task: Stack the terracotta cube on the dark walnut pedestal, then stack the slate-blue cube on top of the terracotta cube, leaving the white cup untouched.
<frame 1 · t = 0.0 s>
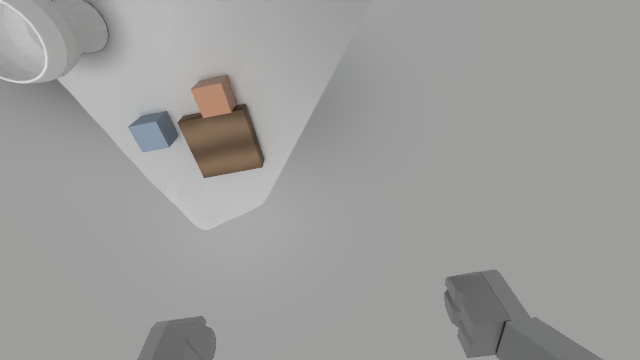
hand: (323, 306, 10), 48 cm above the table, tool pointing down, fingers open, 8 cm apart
pedestal: (225, 139, 58), on the table
terracotta block: (218, 91, 53), on the table
cup: (82, 25, 47), on the table
blue block: (160, 126, 56), on the table
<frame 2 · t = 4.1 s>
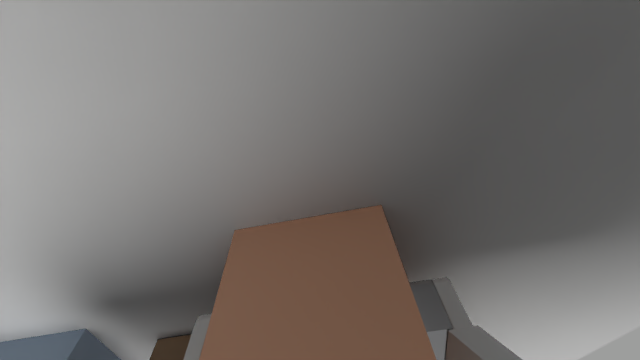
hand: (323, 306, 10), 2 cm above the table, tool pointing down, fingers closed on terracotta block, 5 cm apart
terracotta block: (320, 265, 11), on the table, touching gripper
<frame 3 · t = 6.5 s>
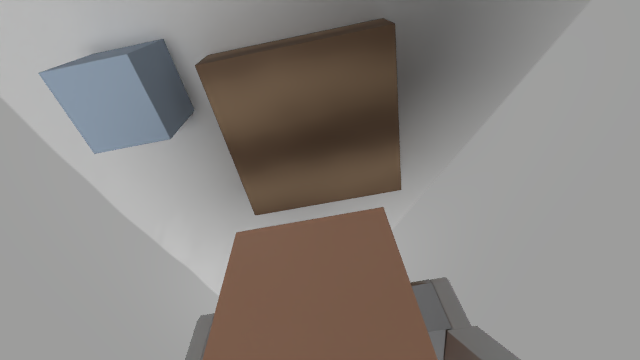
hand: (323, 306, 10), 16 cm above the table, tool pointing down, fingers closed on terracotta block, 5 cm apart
pedestal: (311, 119, 23), on the table
terracotta block: (321, 268, 11), point 14 cm above the table, touching gripper
blue block: (146, 83, 21), on the table
when the fingers open (6 cm above the table, at t = 8.7 s): terracotta block stays where it is, resting on pedestal.
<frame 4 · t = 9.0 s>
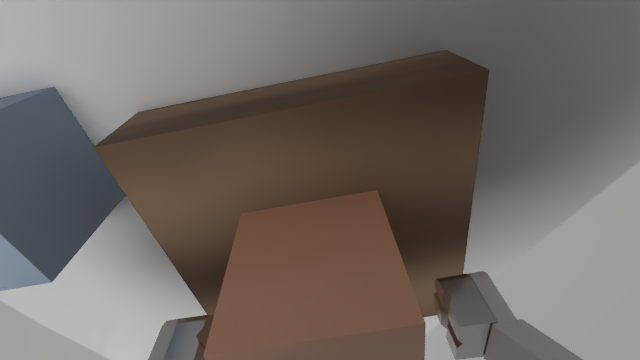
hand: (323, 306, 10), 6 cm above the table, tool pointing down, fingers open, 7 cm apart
pedestal: (316, 204, 15), on the table
terracotta block: (320, 249, 12), point 3 cm above the table, touching pedestal
blue block: (40, 155, 13), on the table
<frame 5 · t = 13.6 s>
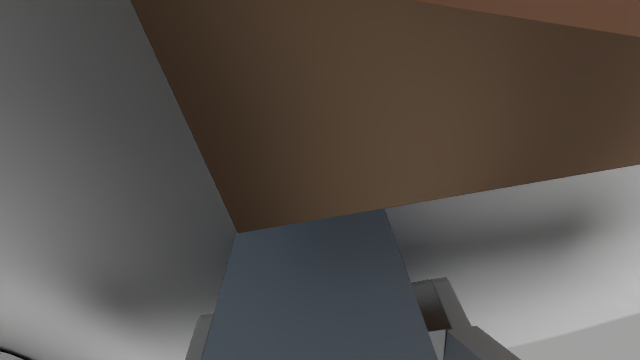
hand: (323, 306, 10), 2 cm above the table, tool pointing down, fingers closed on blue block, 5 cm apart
blue block: (321, 267, 11), on the table, touching gripper
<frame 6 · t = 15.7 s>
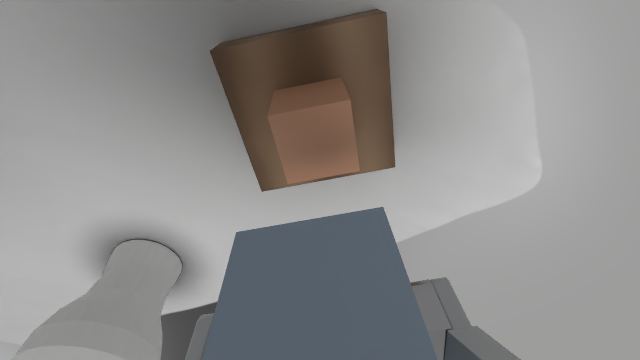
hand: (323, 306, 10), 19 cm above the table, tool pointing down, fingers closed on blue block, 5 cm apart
pedestal: (313, 103, 26), on the table
terracotta block: (314, 116, 23), point 3 cm above the table, touching pedestal
cup: (149, 261, 36), on the table
blue block: (321, 268, 11), point 17 cm above the table, touching gripper
when the fingers open (11 cm above the table, at t = 18.1 s): blue block stays where it is, resting on terracotta block.
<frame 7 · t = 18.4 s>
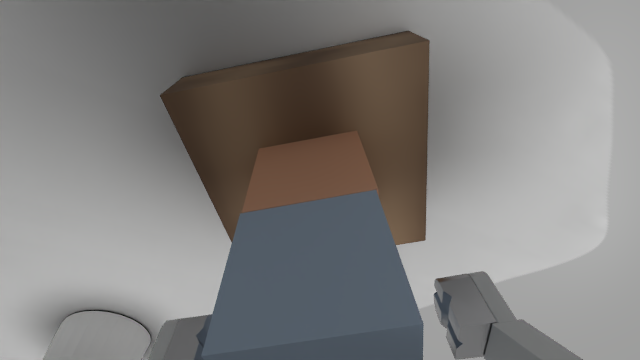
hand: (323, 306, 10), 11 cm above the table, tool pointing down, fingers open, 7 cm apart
pedestal: (314, 154, 19), on the table
terracotta block: (316, 180, 16), point 3 cm above the table, touching blue block, pedestal
cup: (109, 331, 29), on the table
blue block: (319, 249, 12), point 8 cm above the table, touching terracotta block
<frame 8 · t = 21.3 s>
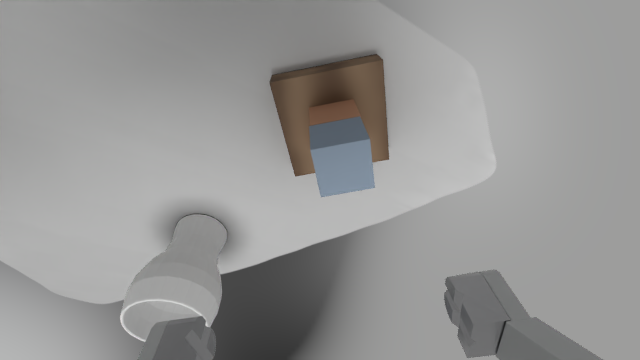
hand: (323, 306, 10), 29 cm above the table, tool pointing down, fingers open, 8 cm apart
pedestal: (332, 114, 37), on the table
terracotta block: (334, 124, 34), point 3 cm above the table, touching blue block, pedestal
cup: (202, 231, 47), on the table
blue block: (338, 144, 30), point 8 cm above the table, touching terracotta block
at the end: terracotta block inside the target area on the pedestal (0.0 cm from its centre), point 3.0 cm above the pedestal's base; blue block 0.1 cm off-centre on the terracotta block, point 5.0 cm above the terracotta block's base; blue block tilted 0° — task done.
